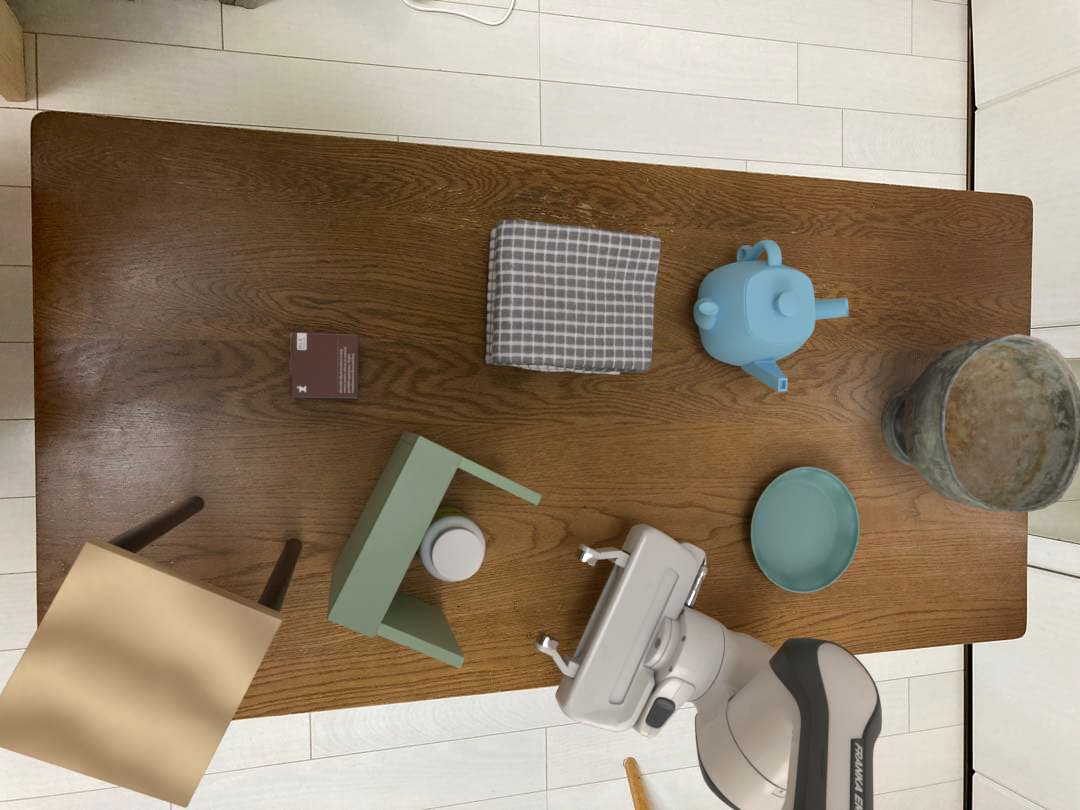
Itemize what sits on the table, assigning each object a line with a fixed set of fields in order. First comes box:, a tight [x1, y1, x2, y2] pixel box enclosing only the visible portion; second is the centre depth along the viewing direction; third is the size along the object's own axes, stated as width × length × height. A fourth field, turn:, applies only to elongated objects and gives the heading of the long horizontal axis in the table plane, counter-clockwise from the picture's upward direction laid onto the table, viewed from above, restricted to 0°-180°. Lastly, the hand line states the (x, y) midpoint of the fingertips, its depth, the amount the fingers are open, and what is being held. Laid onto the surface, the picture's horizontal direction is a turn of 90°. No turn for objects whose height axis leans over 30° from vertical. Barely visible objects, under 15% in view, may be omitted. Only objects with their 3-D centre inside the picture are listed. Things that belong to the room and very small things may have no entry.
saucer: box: [750, 466, 861, 594], centre depth 84 cm, size 15×15×3 cm
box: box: [289, 331, 360, 402], centre depth 68 cm, size 6×6×7 cm
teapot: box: [693, 239, 850, 392], centre depth 78 cm, size 15×14×11 cm
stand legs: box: [106, 495, 303, 612], centre depth 56 cm, size 12×12×26 cm
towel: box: [484, 218, 662, 376], centre depth 74 cm, size 15×18×8 cm
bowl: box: [881, 333, 1080, 513], centre depth 82 cm, size 20×19×15 cm
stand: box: [0, 537, 285, 809], centre depth 42 cm, size 12×12×2 cm
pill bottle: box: [416, 506, 486, 583], centre depth 69 cm, size 6×6×11 cm
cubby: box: [326, 430, 543, 669], centre depth 66 cm, size 16×12×16 cm
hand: (558, 595), depth 70 cm, fingers open, 8 cm apart
